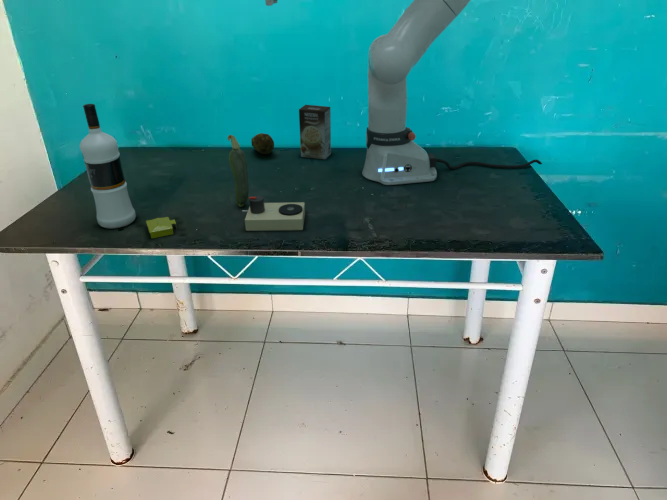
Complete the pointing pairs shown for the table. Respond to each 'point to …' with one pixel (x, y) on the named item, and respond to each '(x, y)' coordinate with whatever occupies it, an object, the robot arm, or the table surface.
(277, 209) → the hot plate
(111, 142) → the vodka
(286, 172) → the table surface
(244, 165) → the vegetable
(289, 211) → the burner
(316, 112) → the coffee box
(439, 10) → the robot arm
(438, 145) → the table surface
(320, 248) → the table surface
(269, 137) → the potato
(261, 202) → the hob knob
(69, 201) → the table surface
